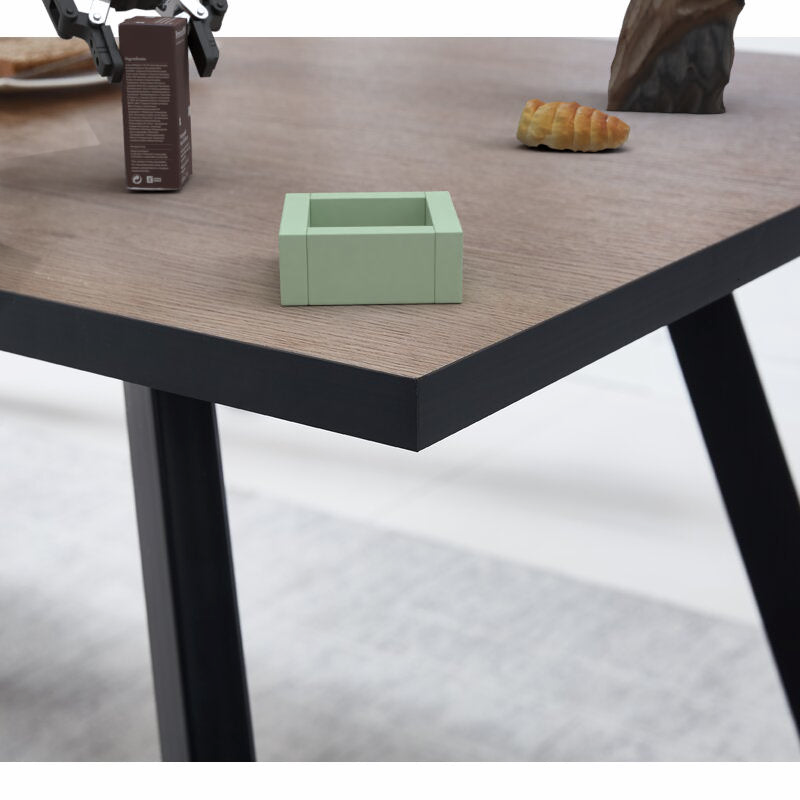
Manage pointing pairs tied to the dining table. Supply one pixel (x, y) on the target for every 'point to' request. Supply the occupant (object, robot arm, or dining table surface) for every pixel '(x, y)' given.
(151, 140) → the box
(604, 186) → the dining table surface
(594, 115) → the pastry
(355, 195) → the socket
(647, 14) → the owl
